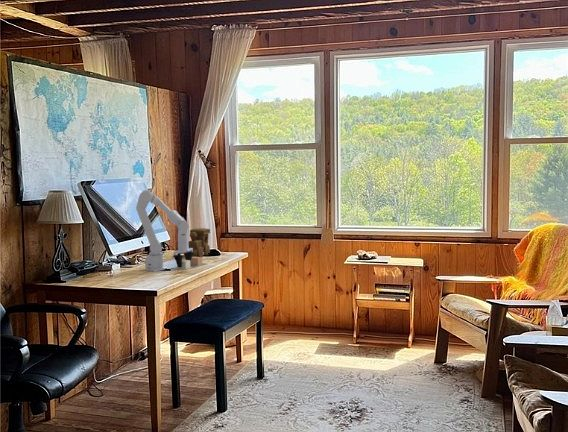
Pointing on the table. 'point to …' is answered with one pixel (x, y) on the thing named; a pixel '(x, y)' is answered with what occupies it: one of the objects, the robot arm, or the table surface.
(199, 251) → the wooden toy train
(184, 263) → the cream brick
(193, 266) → the baseplate
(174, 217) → the robot arm
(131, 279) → the table surface
